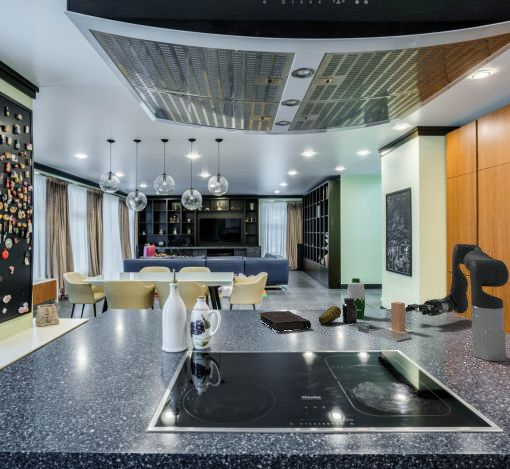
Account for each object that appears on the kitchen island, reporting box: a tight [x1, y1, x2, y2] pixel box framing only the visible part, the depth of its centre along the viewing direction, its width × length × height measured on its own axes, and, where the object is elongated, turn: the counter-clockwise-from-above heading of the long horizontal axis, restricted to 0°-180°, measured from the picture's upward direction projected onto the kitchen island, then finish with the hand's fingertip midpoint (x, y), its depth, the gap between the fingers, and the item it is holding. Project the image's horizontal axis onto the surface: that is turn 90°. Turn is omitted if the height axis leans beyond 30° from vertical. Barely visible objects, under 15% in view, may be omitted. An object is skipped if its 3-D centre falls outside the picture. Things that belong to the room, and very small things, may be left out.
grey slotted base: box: [347, 322, 412, 342], centre depth 152 cm, size 26×9×2 cm, turn 30°
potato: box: [318, 305, 342, 325], centre depth 175 cm, size 8×13×8 cm, turn 105°
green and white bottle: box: [347, 277, 366, 319], centre depth 188 cm, size 9×9×20 cm
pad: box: [387, 327, 414, 334], centre depth 156 cm, size 9×9×1 cm
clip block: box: [390, 301, 407, 332], centre depth 156 cm, size 4×4×12 cm
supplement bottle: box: [341, 297, 358, 325], centre depth 175 cm, size 7×7×12 cm
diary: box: [258, 310, 312, 331], centre depth 173 cm, size 19×25×5 cm
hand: (414, 310), depth 162 cm, fingers open, 8 cm apart
